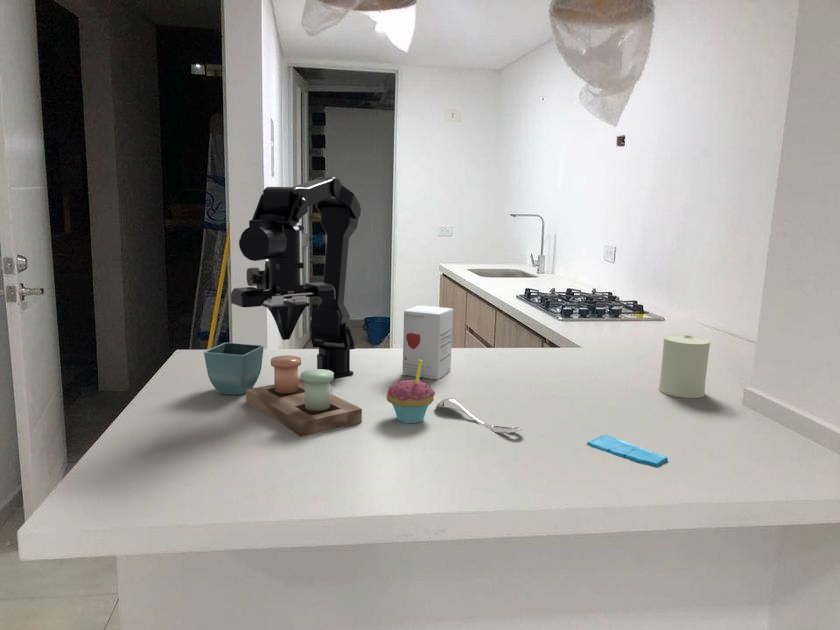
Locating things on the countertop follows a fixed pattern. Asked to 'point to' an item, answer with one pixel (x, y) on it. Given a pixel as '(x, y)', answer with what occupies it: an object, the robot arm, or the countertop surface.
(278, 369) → the terracotta plunger
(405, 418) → the cupcake
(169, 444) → the countertop surface
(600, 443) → the blue flat block
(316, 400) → the sage plunger
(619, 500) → the countertop surface
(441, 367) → the supplement box
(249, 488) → the countertop surface
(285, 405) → the panel
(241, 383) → the flower pot
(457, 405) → the silver spoon
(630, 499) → the countertop surface
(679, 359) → the can
